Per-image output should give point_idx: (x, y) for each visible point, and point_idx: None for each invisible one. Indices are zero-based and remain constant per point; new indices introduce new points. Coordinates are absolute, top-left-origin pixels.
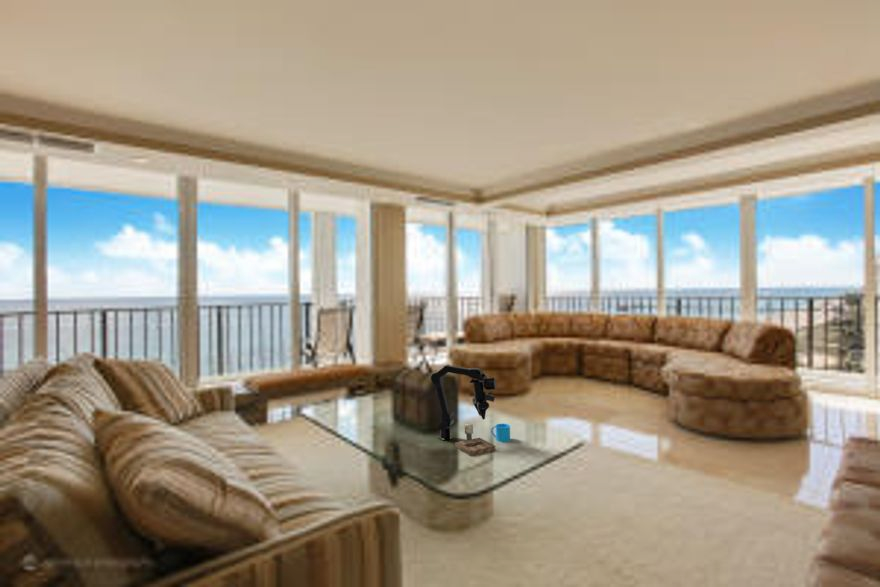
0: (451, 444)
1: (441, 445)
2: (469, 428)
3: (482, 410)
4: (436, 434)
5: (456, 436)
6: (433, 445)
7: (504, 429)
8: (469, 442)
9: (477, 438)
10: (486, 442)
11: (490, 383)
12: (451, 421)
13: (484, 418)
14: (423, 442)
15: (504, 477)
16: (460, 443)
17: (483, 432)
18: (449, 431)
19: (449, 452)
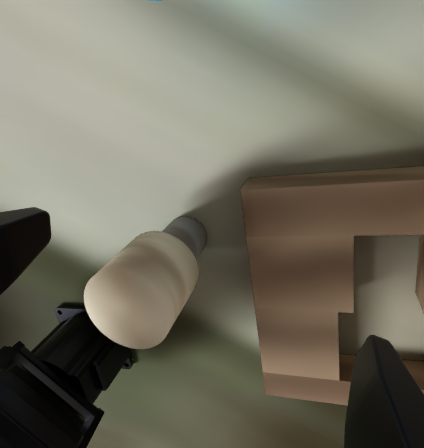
0: (210, 359)
1: (204, 405)
2: (178, 314)
3: None
4: (19, 333)
5: (73, 262)
6: (187, 430)
7: None
8: (320, 324)
9: (255, 219)
10: (417, 203)
11: None
12: (47, 432)
13: (395, 361)
14: (126, 436)
15: None
16: (304, 382)
17: (20, 20)
18: (91, 365)
19: (343, 437)
